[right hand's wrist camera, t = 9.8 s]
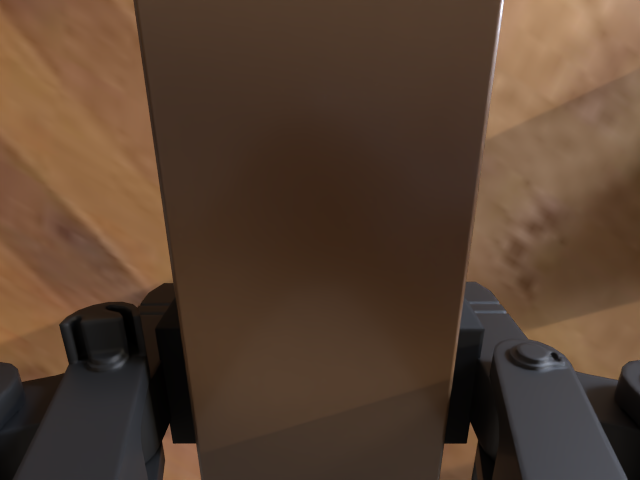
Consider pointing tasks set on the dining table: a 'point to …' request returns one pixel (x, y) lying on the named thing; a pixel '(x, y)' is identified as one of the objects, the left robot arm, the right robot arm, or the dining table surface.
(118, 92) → the dining table surface
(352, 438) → the plank
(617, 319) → the dining table surface
